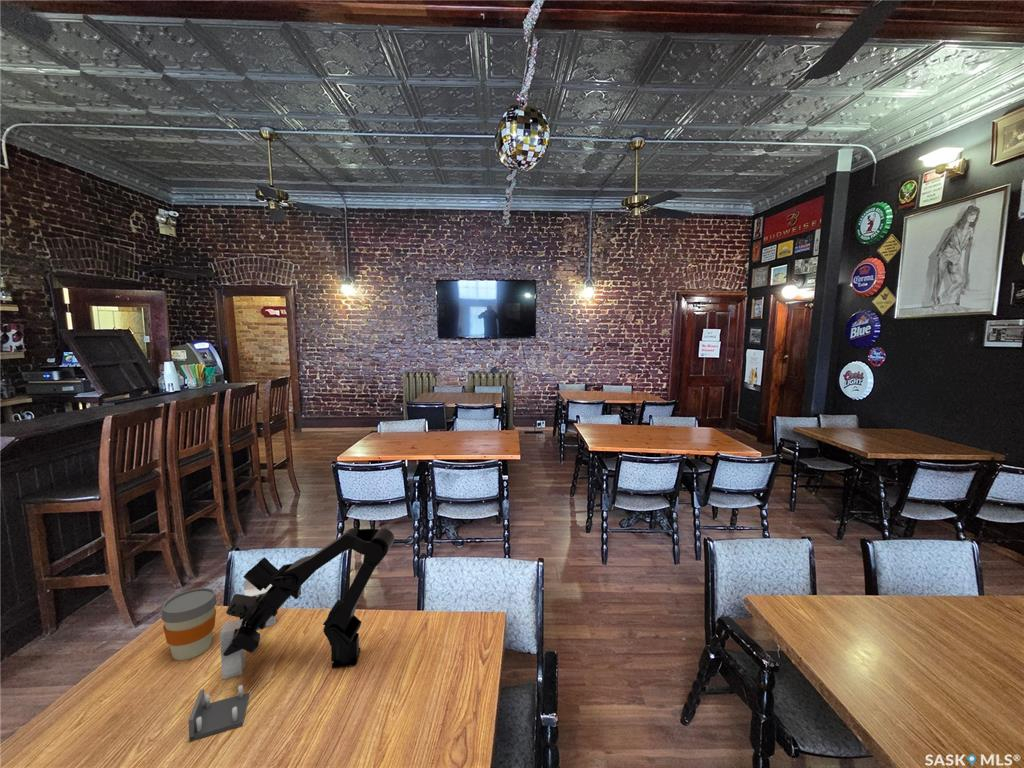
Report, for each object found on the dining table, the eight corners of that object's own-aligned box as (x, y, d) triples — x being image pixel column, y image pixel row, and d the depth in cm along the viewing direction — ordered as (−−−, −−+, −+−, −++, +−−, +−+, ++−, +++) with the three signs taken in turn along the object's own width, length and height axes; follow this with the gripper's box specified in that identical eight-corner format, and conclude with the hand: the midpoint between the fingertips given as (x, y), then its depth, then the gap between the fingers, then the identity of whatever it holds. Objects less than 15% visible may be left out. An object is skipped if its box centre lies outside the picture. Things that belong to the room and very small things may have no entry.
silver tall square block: (245, 663, 115) (243, 618, 114) (241, 674, 111) (239, 628, 110) (226, 667, 113) (223, 622, 112) (222, 679, 109) (219, 633, 108)
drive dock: (249, 696, 104) (248, 677, 104) (242, 725, 96) (241, 705, 95) (201, 709, 100) (200, 690, 100) (189, 741, 92) (188, 720, 91)
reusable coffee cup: (224, 630, 128) (221, 584, 127) (210, 658, 116) (208, 607, 115) (174, 639, 124) (171, 592, 123) (155, 670, 112) (152, 617, 111)
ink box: (244, 634, 127) (242, 588, 125) (244, 625, 131) (242, 580, 130) (276, 624, 131) (275, 580, 130) (275, 615, 135) (274, 572, 134)
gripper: (253, 568, 120) (209, 613, 117) (240, 604, 103) (188, 659, 100) (284, 588, 124) (243, 632, 120) (277, 626, 107) (228, 679, 103)
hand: (226, 649), depth 111 cm, fingers closed on silver tall square block, 4 cm apart
